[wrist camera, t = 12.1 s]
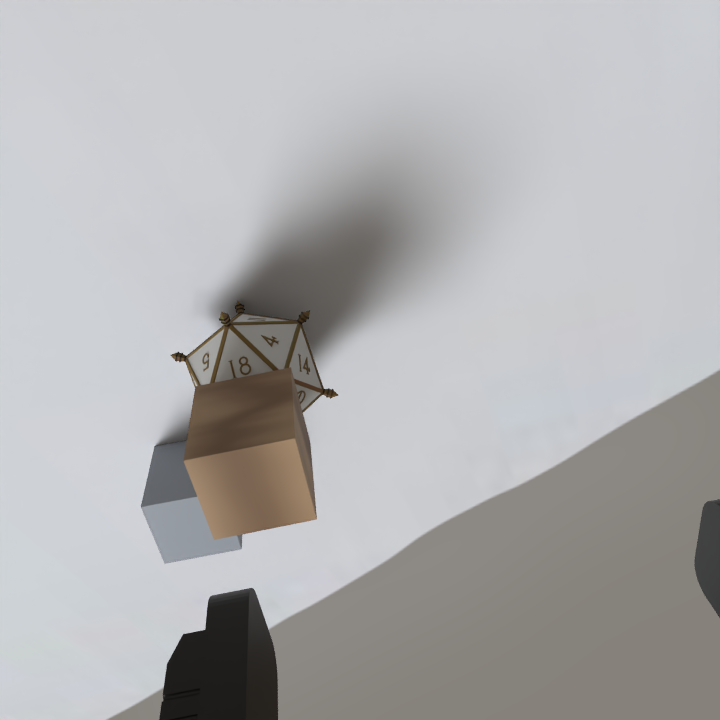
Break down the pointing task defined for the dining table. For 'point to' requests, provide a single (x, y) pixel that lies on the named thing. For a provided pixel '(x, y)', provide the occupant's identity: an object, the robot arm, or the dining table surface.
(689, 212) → the dining table surface
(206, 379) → the game die
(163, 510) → the slate block
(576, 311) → the dining table surface
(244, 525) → the walnut block
